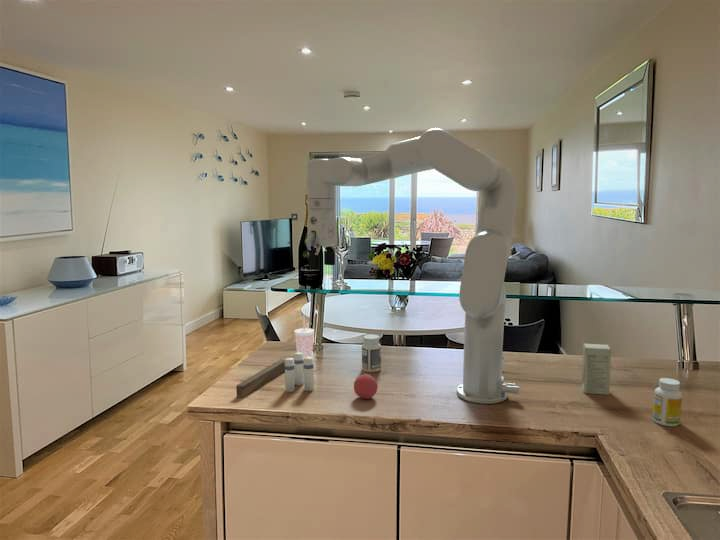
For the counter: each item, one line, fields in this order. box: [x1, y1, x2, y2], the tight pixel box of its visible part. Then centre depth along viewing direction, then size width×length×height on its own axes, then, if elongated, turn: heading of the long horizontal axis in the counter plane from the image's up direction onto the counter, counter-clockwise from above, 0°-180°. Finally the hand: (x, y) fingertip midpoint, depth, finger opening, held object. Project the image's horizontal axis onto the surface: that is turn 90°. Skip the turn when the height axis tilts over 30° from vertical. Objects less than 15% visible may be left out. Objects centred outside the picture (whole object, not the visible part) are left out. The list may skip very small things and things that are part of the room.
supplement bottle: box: [651, 377, 683, 427], centre depth 116 cm, size 5×5×10 cm
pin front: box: [303, 356, 315, 392], centre depth 136 cm, size 2×2×8 cm
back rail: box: [235, 359, 285, 398], centre depth 141 cm, size 2×22×3 cm, turn 159°
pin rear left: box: [284, 357, 296, 393], centre depth 135 cm, size 2×2×8 cm
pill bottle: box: [361, 334, 382, 373], centre depth 151 cm, size 6×6×10 cm
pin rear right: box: [293, 351, 304, 387], centre depth 139 cm, size 2×2×8 cm
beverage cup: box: [293, 314, 315, 360], centre depth 161 cm, size 6×6×14 cm
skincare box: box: [581, 343, 612, 395], centre depth 133 cm, size 6×4×12 cm
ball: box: [353, 373, 379, 400], centre depth 130 cm, size 6×6×6 cm
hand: (322, 267), depth 143 cm, fingers open, 9 cm apart
